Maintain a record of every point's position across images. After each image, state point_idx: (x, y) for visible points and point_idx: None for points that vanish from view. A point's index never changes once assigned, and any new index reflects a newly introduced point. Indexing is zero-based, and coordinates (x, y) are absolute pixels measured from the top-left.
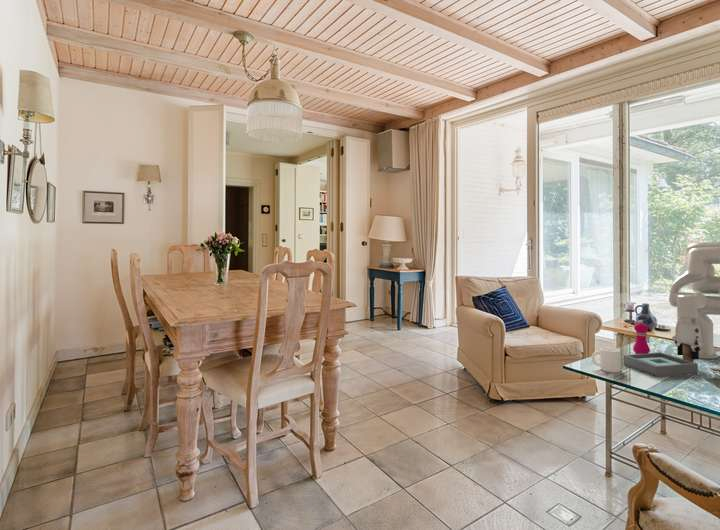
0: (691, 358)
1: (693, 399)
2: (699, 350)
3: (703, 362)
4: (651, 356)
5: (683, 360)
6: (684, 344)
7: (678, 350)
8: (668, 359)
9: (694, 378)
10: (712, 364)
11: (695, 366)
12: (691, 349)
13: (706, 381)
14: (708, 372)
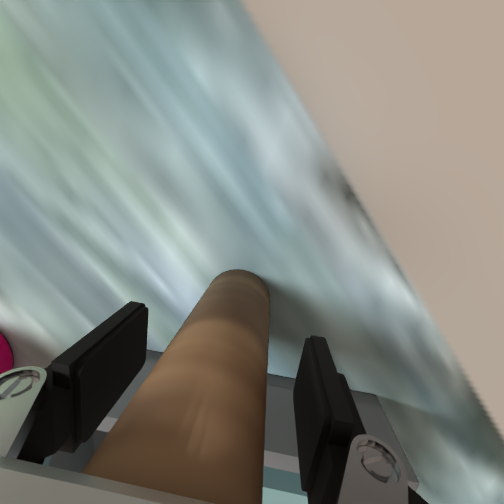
0: (294, 400)
1: None
2: (407, 488)
3: (177, 50)
4: (62, 457)
5: (285, 466)
6: None
7: (106, 408)
8: None
9: None
10: (253, 37)
11: None
12: (262, 466)
13: (483, 472)
14: (384, 300)
